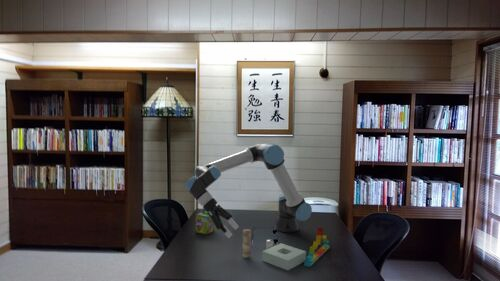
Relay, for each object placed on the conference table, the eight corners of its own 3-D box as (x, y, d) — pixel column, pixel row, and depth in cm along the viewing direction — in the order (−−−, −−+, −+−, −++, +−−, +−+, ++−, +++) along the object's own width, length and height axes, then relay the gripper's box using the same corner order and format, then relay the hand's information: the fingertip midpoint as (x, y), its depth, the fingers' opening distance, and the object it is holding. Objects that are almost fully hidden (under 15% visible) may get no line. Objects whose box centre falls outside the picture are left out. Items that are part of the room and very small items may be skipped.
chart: (310, 267, 166) (311, 238, 165) (304, 266, 168) (305, 236, 167) (329, 248, 192) (330, 222, 191) (324, 247, 194) (325, 221, 193)
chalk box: (195, 232, 211) (195, 209, 210) (202, 228, 220) (202, 206, 219) (207, 235, 208) (208, 211, 207) (214, 230, 216) (215, 208, 215)
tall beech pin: (246, 254, 179) (246, 228, 179) (251, 256, 177) (252, 230, 176) (240, 256, 176) (241, 230, 176) (246, 258, 174) (247, 232, 173)
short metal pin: (269, 247, 191) (269, 238, 190) (274, 249, 188) (274, 240, 188) (264, 249, 188) (264, 240, 187) (270, 251, 185) (270, 242, 185)
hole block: (280, 252, 184) (281, 243, 184) (305, 260, 173) (306, 251, 173) (262, 260, 172) (262, 251, 172) (287, 270, 161) (288, 260, 161)
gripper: (210, 201, 192) (234, 229, 190) (194, 212, 167) (222, 245, 165) (219, 192, 190) (244, 221, 188) (204, 202, 166) (232, 235, 164)
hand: (234, 232), depth 177 cm, fingers open, 13 cm apart
